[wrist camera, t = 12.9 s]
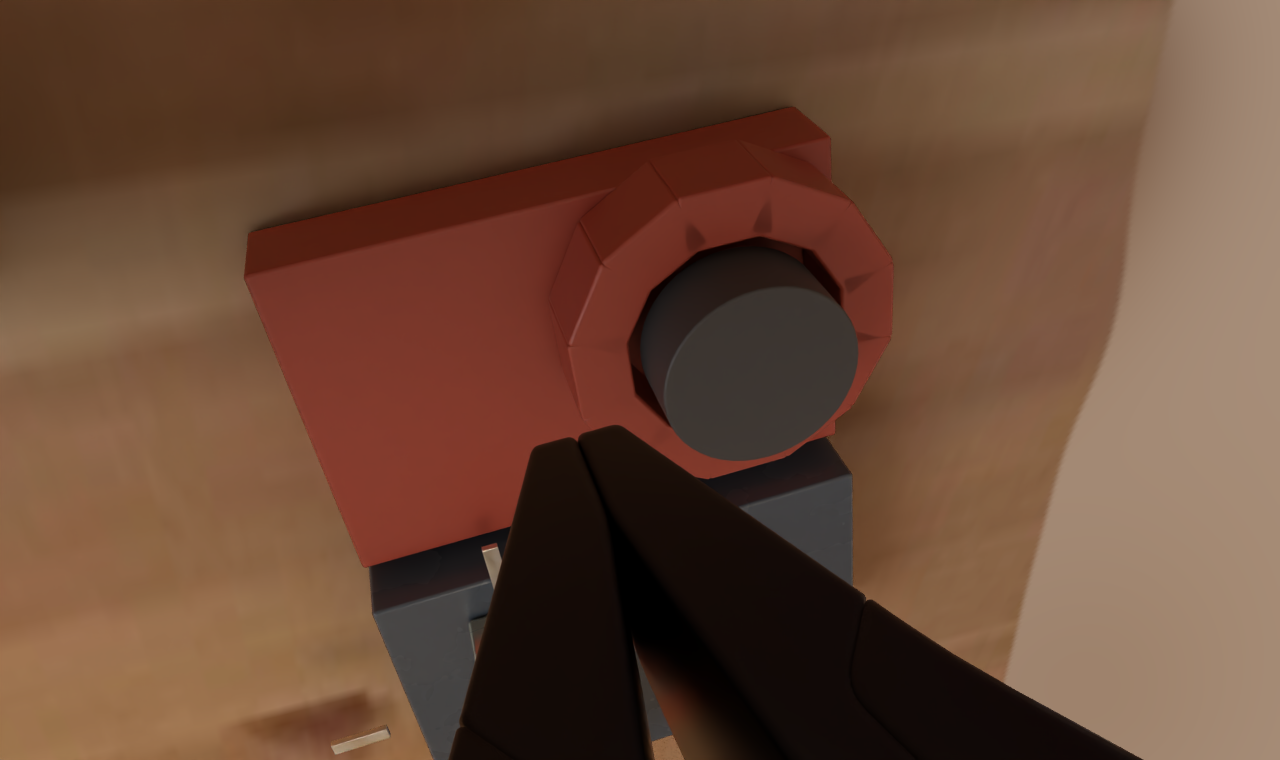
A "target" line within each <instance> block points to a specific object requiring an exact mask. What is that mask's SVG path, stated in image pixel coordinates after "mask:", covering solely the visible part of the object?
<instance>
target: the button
mask: <svg viewBox="0 0 1280 760" xmlns="http://www.w3.org/2000/svg"><path fill="white" fill-rule="evenodd" d="M858 353H859V352H858V340H857V336H856V332H855V329H854V326H853V324H852V321H851V320H850V318H849V317H848V315H847V313H846V312H845V311H844V310H843V308H842V307H841V306H840V305H839V304H838V303H837V302H836V300H835V299H834V298H833V297H832V296H831V295H830V294H829V293H828V291H827V290H826V289H825V288H824V287H823V286H822V285H821V283H820V282H819V281H818V280H817V279H816V278H815V277H814V276H813V274H812V273H811V272H810V271H809V270H808V269H807V268H806V267H805V266H804V265H803V264H802V263H801V262H799V261H798V260H797V259H796V258H794V257H792V256H790V255H788V254H786V253H784V252H781V251H778V250H776V249H771V248H766V247H757V246H745V247H735V248H730V249H725V250H722V251H719V252H716V253H713V254H710V255H708V256H706V257H704V258H701V259H700V260H698V261H696V262H694V263H693V264H691V265H689V266H688V267H687V268H685V269H684V270H683V271H681V272H680V273H679V274H677V275H676V276H675V277H674V278H673V279H672V280H671V281H670V282H669V283H668V284H667V285H666V286H665V288H664V289H663V290H662V291H661V292H660V294H659V295H658V297H657V298H656V300H655V301H654V303H653V304H652V306H651V308H650V310H649V312H648V314H647V317H646V320H645V322H644V325H643V330H642V334H641V341H640V356H641V363H642V367H643V370H644V373H645V375H646V378H647V380H648V382H649V384H650V386H651V388H652V390H653V392H654V394H655V396H656V398H657V400H658V402H659V404H660V406H661V408H662V410H663V412H664V414H665V416H666V418H667V420H668V422H669V423H670V425H671V427H672V428H673V430H674V432H675V433H676V434H677V436H678V437H679V438H680V439H681V440H682V441H683V442H684V443H685V444H687V445H688V446H689V447H690V448H692V449H694V450H696V451H697V452H699V453H701V454H704V455H706V456H709V457H712V458H716V459H720V460H728V461H748V460H756V459H761V458H765V457H769V456H772V455H775V454H778V453H781V452H783V451H785V450H787V449H790V448H792V447H794V446H795V445H797V444H799V443H801V442H802V441H804V440H805V439H807V438H808V437H810V436H811V435H813V434H814V433H815V432H816V431H817V430H819V429H820V428H821V427H822V426H823V425H824V424H825V423H826V422H827V421H828V420H829V419H830V418H831V417H832V416H833V415H834V413H835V412H836V411H837V410H838V408H839V407H840V405H841V404H842V402H843V401H844V399H845V398H846V396H847V394H848V392H849V390H850V388H851V386H852V383H853V380H854V377H855V374H856V369H857V365H858Z"/></svg>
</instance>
